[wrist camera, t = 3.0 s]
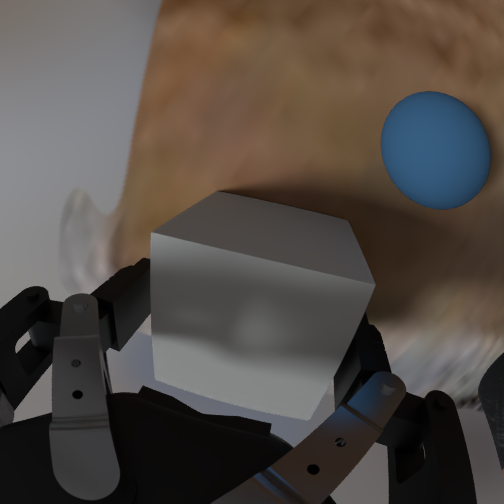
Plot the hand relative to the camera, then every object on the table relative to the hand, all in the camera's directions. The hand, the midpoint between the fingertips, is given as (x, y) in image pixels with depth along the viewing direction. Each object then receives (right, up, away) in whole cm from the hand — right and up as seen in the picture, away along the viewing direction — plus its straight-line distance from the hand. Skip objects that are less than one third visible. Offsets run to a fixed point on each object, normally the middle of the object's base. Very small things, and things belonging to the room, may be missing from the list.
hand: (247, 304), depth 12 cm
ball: (+8, +6, -2) cm, 10 cm away
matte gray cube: (+1, +1, +4) cm, 4 cm away
